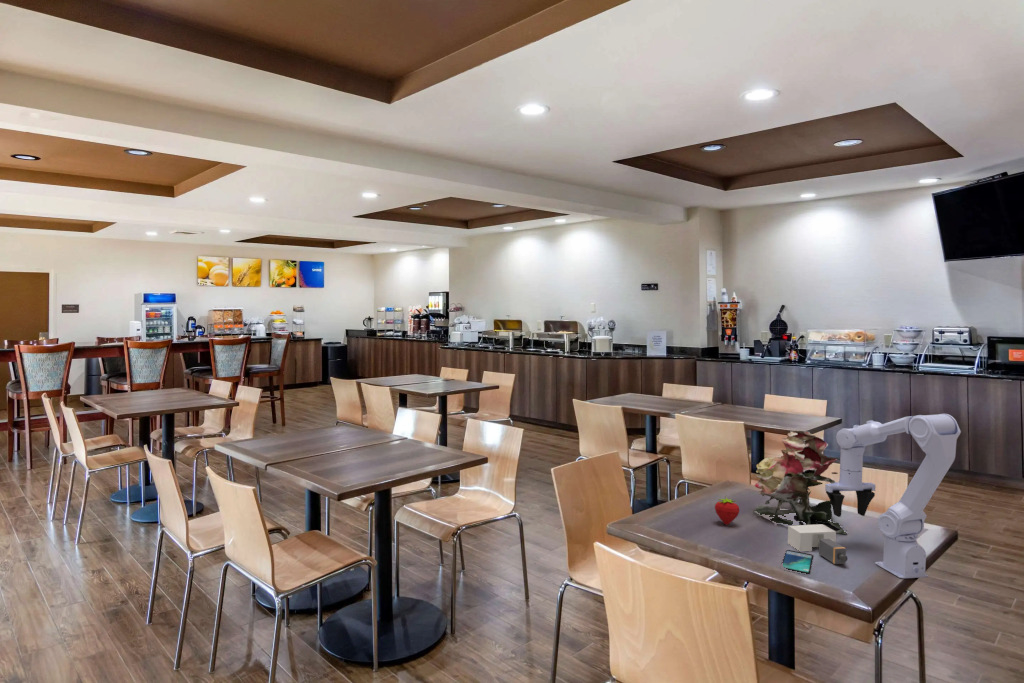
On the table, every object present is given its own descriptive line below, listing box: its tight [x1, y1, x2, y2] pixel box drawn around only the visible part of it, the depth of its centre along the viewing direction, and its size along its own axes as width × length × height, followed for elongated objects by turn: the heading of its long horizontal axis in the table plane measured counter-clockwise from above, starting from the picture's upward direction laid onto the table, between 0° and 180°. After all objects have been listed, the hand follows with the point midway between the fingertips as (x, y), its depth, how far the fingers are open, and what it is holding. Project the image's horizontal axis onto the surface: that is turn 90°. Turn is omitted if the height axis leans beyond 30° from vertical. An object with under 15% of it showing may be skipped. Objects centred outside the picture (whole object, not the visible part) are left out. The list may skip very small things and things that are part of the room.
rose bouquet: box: [753, 429, 848, 536], centre depth 200 cm, size 26×29×30 cm
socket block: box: [787, 523, 837, 552], centre depth 177 cm, size 6×11×6 cm, turn 97°
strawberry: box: [714, 496, 740, 526], centre depth 195 cm, size 6×8×10 cm
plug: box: [818, 539, 848, 565], centre depth 167 cm, size 9×3×4 cm, turn 7°
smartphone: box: [781, 549, 814, 575], centre depth 167 cm, size 7×1×15 cm
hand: (849, 515), depth 177 cm, fingers open, 7 cm apart
